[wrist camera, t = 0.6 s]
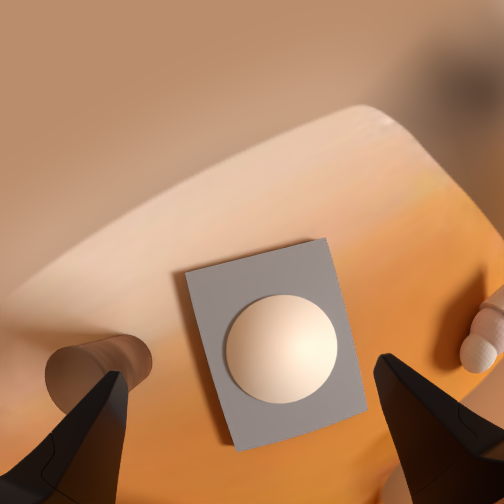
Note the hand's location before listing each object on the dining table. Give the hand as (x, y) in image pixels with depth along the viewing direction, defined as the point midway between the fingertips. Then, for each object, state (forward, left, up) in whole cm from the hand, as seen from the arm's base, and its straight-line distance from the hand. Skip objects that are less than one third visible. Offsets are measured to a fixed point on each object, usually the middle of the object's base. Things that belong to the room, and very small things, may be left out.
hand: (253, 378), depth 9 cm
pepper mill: (0, +10, -15) cm, 18 cm away
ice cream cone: (-7, -27, -15) cm, 32 cm away
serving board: (-2, -3, -15) cm, 16 cm away
